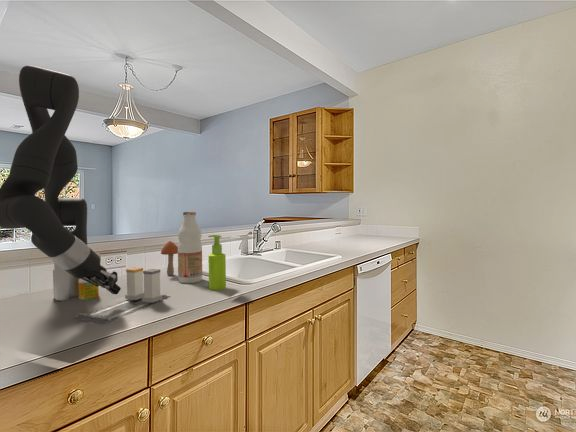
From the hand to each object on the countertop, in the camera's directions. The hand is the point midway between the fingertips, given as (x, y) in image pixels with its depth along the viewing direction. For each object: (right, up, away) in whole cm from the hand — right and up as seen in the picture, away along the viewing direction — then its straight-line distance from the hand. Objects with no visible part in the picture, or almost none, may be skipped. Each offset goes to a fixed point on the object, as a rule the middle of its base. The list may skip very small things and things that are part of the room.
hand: (117, 291), depth 90 cm
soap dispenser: (+25, -5, +20) cm, 32 cm away
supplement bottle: (-14, -5, +9) cm, 18 cm away
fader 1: (+2, -4, +7) cm, 8 cm away
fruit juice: (+11, -4, +34) cm, 36 cm away
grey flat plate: (+3, -5, 0) cm, 6 cm away
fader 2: (+9, -4, +4) cm, 10 cm away
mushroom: (-1, -4, +45) cm, 45 cm away
